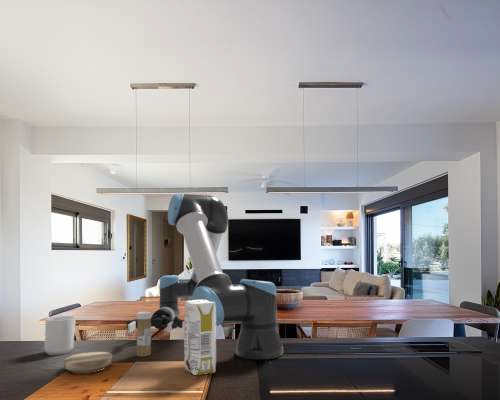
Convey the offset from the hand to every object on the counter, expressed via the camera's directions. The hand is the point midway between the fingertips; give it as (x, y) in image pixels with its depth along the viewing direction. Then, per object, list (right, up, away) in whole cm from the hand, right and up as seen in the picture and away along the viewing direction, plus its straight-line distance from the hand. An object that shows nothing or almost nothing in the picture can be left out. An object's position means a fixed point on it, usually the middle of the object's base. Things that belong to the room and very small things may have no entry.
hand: (148, 328), depth 138 cm
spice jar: (0, -6, -8) cm, 10 cm away
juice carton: (+21, -4, -26) cm, 34 cm away
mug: (-29, -8, 0) cm, 30 cm away
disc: (-12, -5, -21) cm, 25 cm away
